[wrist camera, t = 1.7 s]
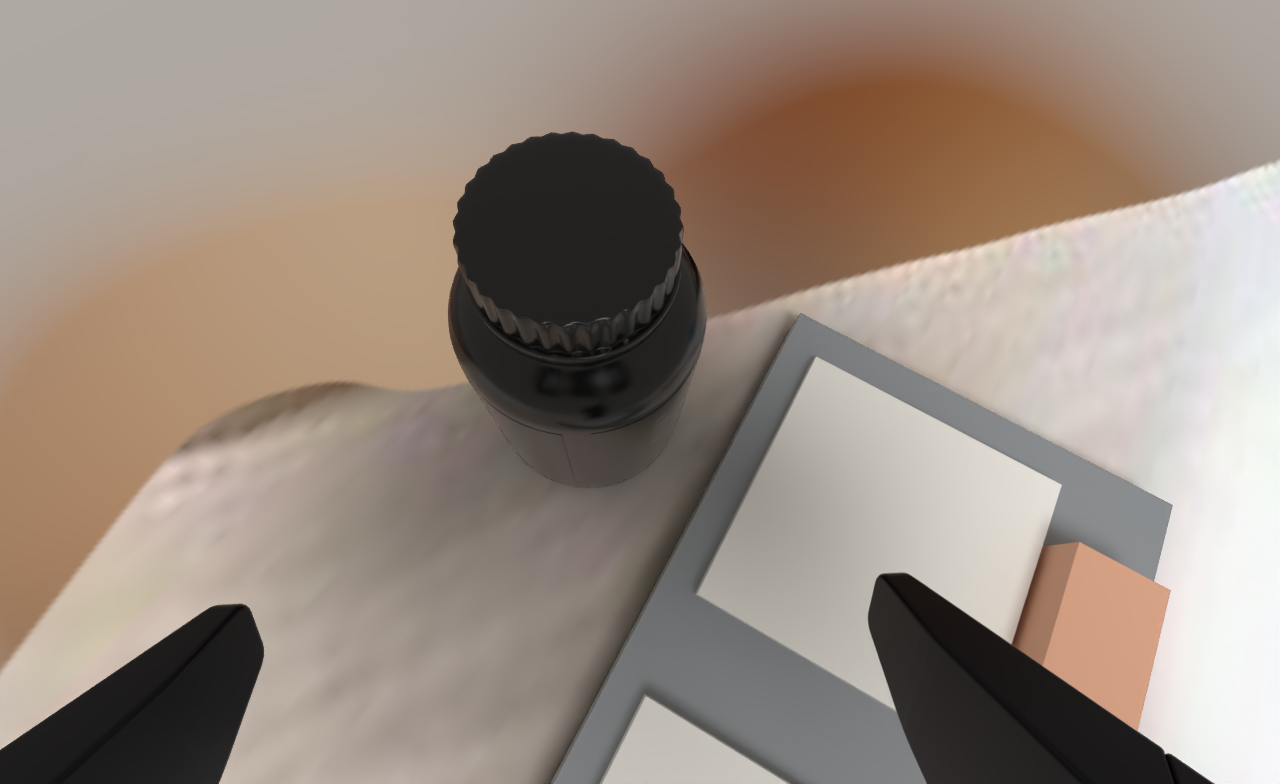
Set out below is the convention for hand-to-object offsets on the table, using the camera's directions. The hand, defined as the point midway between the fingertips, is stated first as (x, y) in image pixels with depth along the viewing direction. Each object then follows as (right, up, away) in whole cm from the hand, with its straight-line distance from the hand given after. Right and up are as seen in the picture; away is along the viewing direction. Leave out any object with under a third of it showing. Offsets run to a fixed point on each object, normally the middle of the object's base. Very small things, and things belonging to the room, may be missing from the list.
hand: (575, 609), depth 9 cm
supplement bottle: (-1, +3, +15) cm, 15 cm away
